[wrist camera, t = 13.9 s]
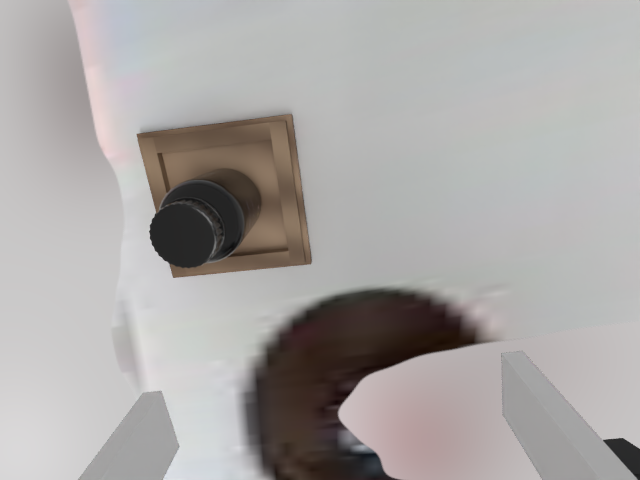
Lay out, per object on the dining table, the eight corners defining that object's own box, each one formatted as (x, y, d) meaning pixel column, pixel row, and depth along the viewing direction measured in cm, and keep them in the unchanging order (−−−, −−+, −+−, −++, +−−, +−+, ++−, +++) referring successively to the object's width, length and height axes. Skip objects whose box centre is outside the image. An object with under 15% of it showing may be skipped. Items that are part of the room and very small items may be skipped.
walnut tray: (311, 260, 39) (310, 267, 37) (177, 274, 40) (169, 281, 38) (292, 114, 34) (289, 113, 32) (141, 133, 35) (130, 134, 33)
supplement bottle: (192, 227, 37) (129, 271, 25) (199, 161, 35) (133, 176, 23) (258, 240, 37) (225, 290, 26) (268, 175, 35) (237, 197, 24)
